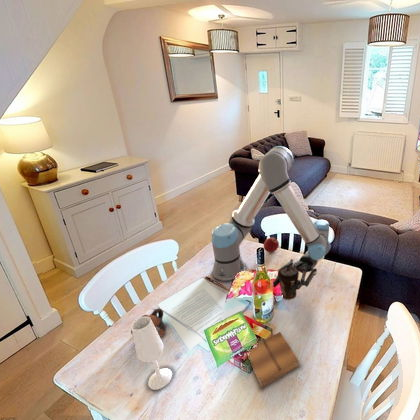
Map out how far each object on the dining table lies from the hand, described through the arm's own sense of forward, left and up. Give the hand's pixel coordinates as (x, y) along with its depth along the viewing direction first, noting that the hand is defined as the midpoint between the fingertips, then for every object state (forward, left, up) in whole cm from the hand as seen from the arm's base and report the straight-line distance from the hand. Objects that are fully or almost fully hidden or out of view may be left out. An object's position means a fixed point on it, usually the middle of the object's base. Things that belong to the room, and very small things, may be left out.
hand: (282, 288), depth 108 cm
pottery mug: (-14, -47, -9) cm, 50 cm away
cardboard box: (+20, -15, -9) cm, 26 cm away
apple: (-38, +13, -9) cm, 41 cm away
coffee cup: (-2, +4, -7) cm, 9 cm away
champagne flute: (+7, -47, -9) cm, 48 cm away
